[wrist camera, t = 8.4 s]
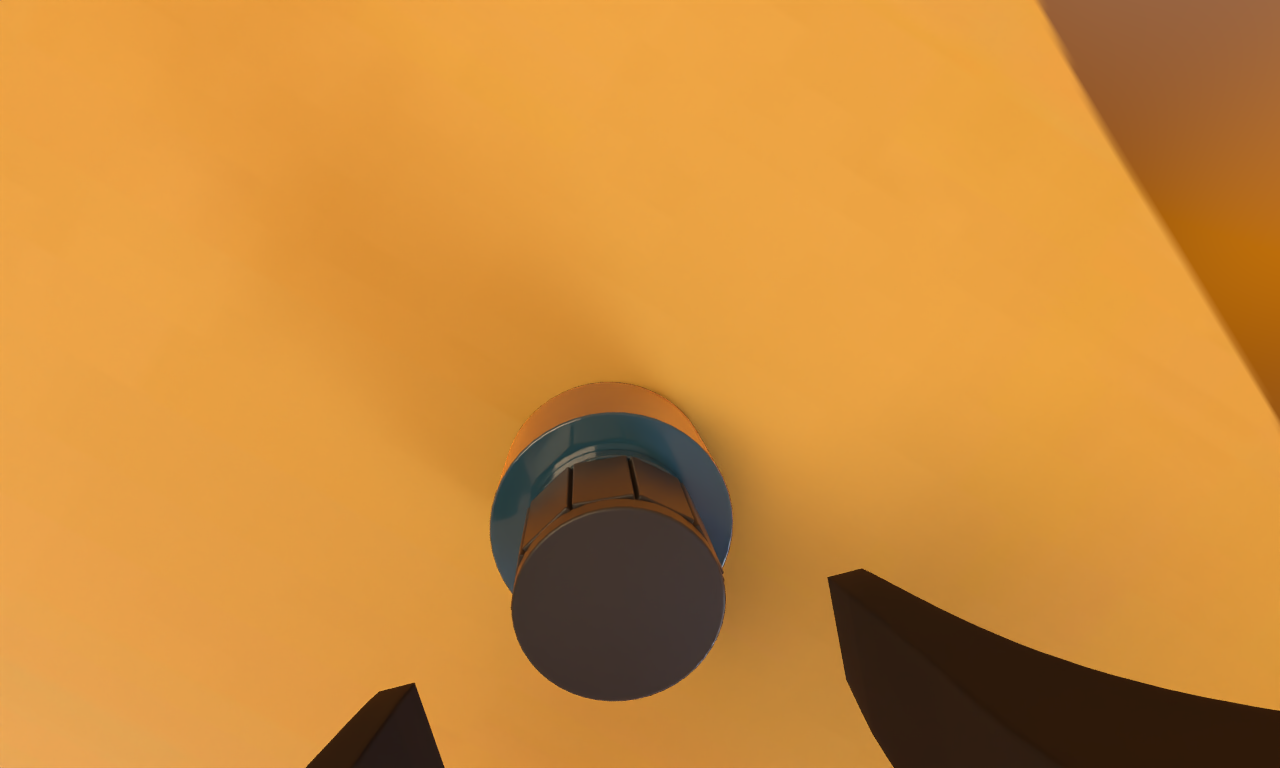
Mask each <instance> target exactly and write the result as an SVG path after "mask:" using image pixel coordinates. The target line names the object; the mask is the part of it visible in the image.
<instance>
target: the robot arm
mask: <svg viewBox="0 0 1280 768" xmlns="http://www.w3.org/2000/svg"><path fill="white" fill-rule="evenodd" d="M828 583H829V588H830V593H831V599H832V604H833V610H834V615H835V621H836V626H837V631H838V637H839V642H840V648H841V653H842V659H843V664H844V670H845V675H846V680H847V682H848V684H849V686H850V688H851V691H852V693H853V695H854V697H855V699H856V701H857V703H858V705H859V707H860V710H861V712H862V714H863V716H864V718H865V720H866V722H867V724H868V726H869V728H870V730H871V732H872V734H873V735H874V737H875V739H876V740H877V742H878V743H879V745H880V747H881V748H882V750H883V751H884V753H885V755H886V756H887V758H888V759H889V761H890V762H891V764H892V766H893V767H894V768H1280V711H1277V710H1271V709H1265V708H1259V707H1253V706H1248V705H1243V704H1237V703H1232V702H1227V701H1221V700H1216V699H1211V698H1205V697H1200V696H1196V695H1191V694H1187V693H1182V692H1178V691H1173V690H1169V689H1164V688H1160V687H1156V686H1153V685H1149V684H1145V683H1141V682H1137V681H1133V680H1130V679H1126V678H1122V677H1118V676H1114V675H1111V674H1107V673H1104V672H1100V671H1097V670H1094V669H1090V668H1087V667H1084V666H1081V665H1078V664H1075V663H1072V662H1069V661H1066V660H1063V659H1060V658H1057V657H1054V656H1051V655H1048V654H1045V653H1042V652H1039V651H1037V650H1034V649H1031V648H1029V647H1026V646H1023V645H1021V644H1018V643H1016V642H1013V641H1011V640H1009V639H1006V638H1004V637H1002V636H999V635H997V634H994V633H992V632H990V631H987V630H985V629H983V628H980V627H978V626H976V625H974V624H971V623H969V622H967V621H965V620H963V619H960V618H958V617H956V616H954V615H952V614H950V613H948V612H946V611H944V610H942V609H940V608H938V607H936V606H934V605H932V604H930V603H928V602H926V601H924V600H922V599H920V598H918V597H916V596H914V595H912V594H910V593H908V592H907V591H905V590H903V589H901V588H899V587H897V586H895V585H893V584H891V583H889V582H888V581H886V580H884V579H882V578H880V577H878V576H876V575H874V574H872V573H870V572H868V571H866V570H864V569H858V570H854V571H850V572H846V573H843V574H839V575H835V576H831V577H828ZM306 768H444V765H443V762H442V759H441V757H440V754H439V751H438V748H437V745H436V742H435V739H434V737H433V734H432V731H431V728H430V725H429V722H428V720H427V717H426V714H425V711H424V708H423V705H422V703H421V700H420V697H419V694H418V691H417V688H416V685H415V683H411V684H407V685H403V686H399V687H396V688H392V689H388V690H384V691H380V692H378V693H377V694H376V695H375V696H374V697H373V698H372V699H370V700H369V701H368V702H367V703H366V704H365V705H364V706H363V707H362V708H361V709H360V710H359V711H358V713H357V714H356V715H355V716H354V717H353V718H352V719H351V720H350V721H349V722H348V723H347V724H346V725H345V726H344V727H343V728H342V729H341V730H340V732H339V733H338V734H337V735H336V736H335V737H334V738H333V739H332V740H331V741H330V742H329V743H328V744H327V746H326V747H325V748H324V749H323V750H322V751H321V752H320V753H319V754H318V755H317V756H316V757H315V758H314V759H313V760H312V761H311V762H310V764H309V765H308V766H307V767H306Z"/></svg>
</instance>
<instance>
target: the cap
mask: <svg viewBox="0 0 1280 768" xmlns="http://www.w3.org/2000/svg"><path fill="white" fill-rule="evenodd" d="M722 574H723V569H722V567H721V565H720V562H719V560H718V557H717V555H716V553H715V550H714V548H713V545H712V543H711V541H710V538H709V536H708V533H707V531H706V529H705V526H704V524H703V522H702V520H701V518H700V516H699V514H698V512H697V510H696V508H695V506H694V504H693V502H692V500H691V498H690V496H689V494H688V492H687V490H686V488H685V486H684V484H683V483H680V482H679V480H678V478H677V477H674V476H672V475H670V474H668V473H666V472H664V471H662V470H660V469H658V468H656V467H654V466H652V465H650V464H647V463H645V462H643V461H641V460H639V459H637V458H635V457H631V458H630V460H629V462H628V460H627V456H619V457H613V458H606V459H600V460H594V461H588V462H582V463H575V464H573V470H572V469H571V468H570V467H567V468H566V469H565V470H564V471H563V472H562V473H561V474H560V475H558V476H557V477H556V478H555V479H554V480H553V481H552V482H551V483H550V484H549V485H548V486H547V487H546V488H545V489H544V490H543V491H542V492H541V493H540V494H539V495H538V496H537V497H536V498H535V499H534V500H532V501H531V504H530V508H528V509H527V514H526V519H525V524H524V530H523V535H522V540H521V545H520V551H519V556H518V563H517V569H516V576H515V582H514V588H513V595H512V602H511V610H512V620H513V627H514V630H515V633H516V637H517V640H518V642H519V644H520V646H521V648H522V650H523V652H524V653H525V655H526V656H527V658H528V659H529V661H530V662H531V663H532V665H533V666H534V667H535V668H536V669H537V670H538V671H539V672H540V673H541V674H542V675H543V676H544V677H546V678H547V679H548V680H549V681H551V682H552V683H554V684H555V685H557V686H558V687H560V688H562V689H564V690H566V691H568V692H570V693H573V694H576V695H579V696H582V697H585V698H590V699H595V700H602V701H627V700H634V699H639V698H643V697H647V696H651V695H653V694H656V693H658V692H661V691H663V690H665V689H667V688H669V687H671V686H673V685H675V684H676V683H678V682H679V681H681V680H682V679H684V678H685V677H686V676H688V675H689V674H690V673H691V672H692V671H693V670H694V669H696V668H697V666H698V665H699V664H700V663H701V662H702V661H703V660H704V659H705V657H706V656H707V654H708V653H709V651H710V650H711V648H712V647H713V645H714V643H715V641H716V639H717V637H718V634H719V632H720V629H721V626H722V623H723V618H724V613H725V603H726V595H725V585H724V577H723V575H722Z"/></svg>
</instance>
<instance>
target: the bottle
mask: <svg viewBox="0 0 1280 768" xmlns="http://www.w3.org/2000/svg"><path fill="white" fill-rule="evenodd" d="M619 456H627V460H628V462H629V460H630V458H631V457H635V458H637V459H639V460H641V461H643V462H645V463H647V464H650V465H652V466H654V467H656V468H658V469H660V470H662V471H664V472H666V473H668V474H670V475H672V476H674V477H677V478H678V480H679V482H680V483H683V484H684V486H685V488H686V490H687V492H688V494H689V496H690V498H691V500H692V502H693V504H694V506H695V508H696V510H697V512H698V514H699V516H700V518H701V520H702V522H703V524H704V526H705V529H706V531H707V533H708V536H709V538H710V541H711V543H712V545H713V548H714V550H715V553H716V555H717V557H718V560H719V562H720V565H721V567H722V568H723V566H724V564H725V561H726V558H727V555H728V552H729V549H730V544H731V539H732V529H733V514H732V505H731V500H730V495H729V492H728V489H727V486H726V483H725V481H724V478H723V476H722V474H721V473H720V471H719V469H718V467H717V465H716V463H715V462H714V460H713V458H712V457H711V455H710V453H709V451H708V450H707V448H706V446H705V444H704V443H703V441H702V439H701V437H700V436H699V434H698V432H697V431H696V429H695V427H694V426H693V425H692V423H691V422H690V420H689V419H688V418H687V417H686V416H685V415H684V414H683V412H682V411H681V410H680V409H679V408H677V407H676V406H675V405H674V404H672V403H671V402H670V401H669V400H667V399H665V398H664V397H662V396H660V395H659V394H657V393H655V392H652V391H650V390H648V389H645V388H642V387H639V386H635V385H632V384H625V383H618V382H600V383H592V384H586V385H582V386H578V387H575V388H572V389H570V390H567V391H565V392H562V393H561V394H559V395H557V396H555V397H553V398H551V399H550V400H548V401H547V402H546V403H544V404H543V405H542V406H540V407H539V408H538V409H537V410H536V411H535V412H534V413H533V414H532V415H531V416H530V417H529V418H528V419H527V420H526V422H525V423H524V424H523V425H522V427H521V428H520V430H519V432H518V433H517V435H516V437H515V438H514V441H513V443H512V445H511V448H510V450H509V453H508V456H507V459H506V462H505V465H504V468H503V472H502V475H501V478H500V481H499V484H498V487H497V490H496V493H495V497H494V501H493V504H492V508H491V516H490V541H491V547H492V553H493V556H494V559H495V563H496V566H497V568H498V570H499V572H500V575H501V577H502V579H503V581H504V582H505V584H506V585H507V587H508V588H509V590H510V591H511V593H512V594H513V588H514V582H515V576H516V569H517V563H518V556H519V551H520V545H521V540H522V535H523V530H524V524H525V519H526V514H527V509H528V508H530V504H531V501H532V500H534V499H535V498H536V497H537V496H538V495H539V494H540V493H541V492H542V491H543V490H544V489H545V488H546V487H547V486H548V485H549V484H550V483H551V482H552V481H553V480H554V479H555V478H556V477H557V476H558V475H560V474H561V473H562V472H563V471H564V470H565V469H566V468H567V467H570V468H571V469H572V470H573V464H575V463H582V462H588V461H594V460H600V459H606V458H613V457H619Z"/></svg>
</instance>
